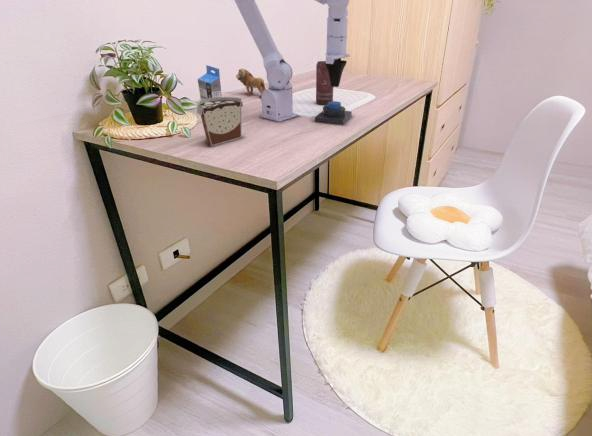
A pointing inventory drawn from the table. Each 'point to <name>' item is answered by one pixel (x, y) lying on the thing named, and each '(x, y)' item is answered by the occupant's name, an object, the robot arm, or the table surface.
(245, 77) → the lion figurine
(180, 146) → the table surface
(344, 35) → the robot arm
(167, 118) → the table surface
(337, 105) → the blue button cap
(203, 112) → the food container
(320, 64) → the can
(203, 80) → the tape cartridge
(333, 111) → the button base
